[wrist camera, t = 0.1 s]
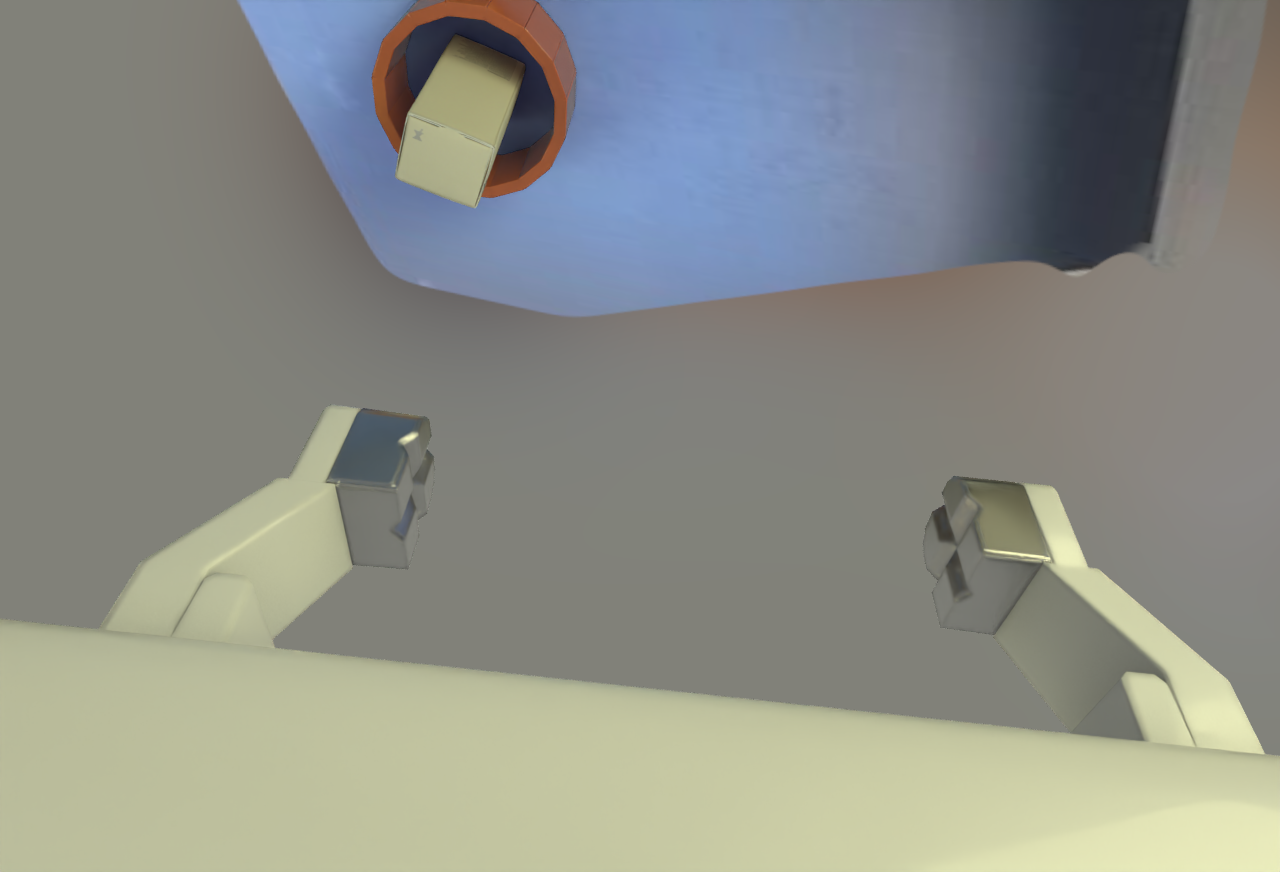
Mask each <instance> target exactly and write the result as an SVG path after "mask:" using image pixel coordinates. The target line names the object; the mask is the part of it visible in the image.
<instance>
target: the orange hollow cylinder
mask: <svg viewBox="0 0 1280 872" xmlns="http://www.w3.org/2000/svg"><path fill="white" fill-rule="evenodd" d="M447 16H453V17H461V18H470V19H478V20H485V21H487V22H489V23H490V24H492V25H494V26H496V27H498V28H499V29H501V30H503V31H505V32H507V33H508V34H510V35H512V36H514V37H516V38H517V39H518V40H519V41H520V42H521V43H522V45H523V46H524V47H525V48H526V49H527V50H528V52H529V53H530V54H531V55H532V56H533V57H534V59H535V60H536V61H537V62H538V63H539V64H540V66H541V67H542V69H543V71H544V74H545V77H546V79H547V82H548V85H549V87H550V90H551V93H552V96H553V98H554V124H553V126H552V129H551V130H550V131H549V132H548V133H546V134H545V135H544V136H543V137H542V138H540V139H539V140H538V141H537V142H536V143H534V144H533V145H532V146H531V147H530V148H526V149H522V150H519V151H515V152H512V153H508V154H504V155H498V154H497V155H496V157H495V161H494V163H493V166H492V169H491V172H490V174H489V177H488V180H487V183H486V186H485V188H484V191H483V193H482V196H481V197H488V198H494V197H498V196H501V195H505V194H509V193H513V192H516V191H520V190H524V189H526V188H527V187H528V186H529V185H531V184H532V183H533V182H534V181H536V180H537V179H538V178H539V177H541V176H542V175H543V174H544V173H546V172H547V171H548V170H549V169H550V168H551V167H552V165H553V163H554V161H555V158H556V156H557V154H558V152H559V150H560V148H561V146H562V144H563V142H564V140H565V138H566V134H567V131H568V128H569V124H570V121H571V118H572V114H573V111H574V107H575V94H576V68H575V65H574V62H573V59H572V57H571V54H570V51H569V48H568V45H567V42H566V39H565V36H564V34H563V32H562V31H561V30H560V29H559V27H558V26H557V25H556V24H555V23H554V21H553V20H552V19H551V18H550V17H549V15H548V14H547V13H546V12H545V10H544V9H543V8H542V7H541V6H540V4H539V3H537V2H536V1H535V0H417V1H416V2H415V3H414V4H413V5H412V6H411V7H410V9H409V10H408V11H407V12H406V13H405V14H404V15H403V16H402V17H401V19H400V20H399V21H398V22H397V23H396V25H395V26H394V27H393V28H392V29H391V30H390V32H389V33H388V34H387V35H386V36H385V38H384V39H383V41H382V43H381V46H380V50H379V53H378V56H377V60H376V63H375V66H374V70H373V73H372V85H373V93H374V102H375V110H376V114H377V117H378V119H379V121H380V123H381V125H382V127H383V129H384V131H385V132H386V134H387V136H388V138H389V140H390V142H391V144H392V146H393V148H394V149H395V151H396V152H397V153H398V154H399V150H400V145H401V140H402V135H403V131H404V127H405V122H406V117H407V114H408V112H409V110H410V108H411V107H412V105H413V103H414V102H415V98H414V96H413V94H412V92H411V90H410V87H409V85H408V75H407V64H406V53H405V52H406V49H407V46H408V43H409V40H410V37H411V34H412V31H413V30H414V29H415V28H416V27H417V26H419V25H422V24H426V23H429V22H432V21H435V20H438V19H441V18H444V17H447Z"/></svg>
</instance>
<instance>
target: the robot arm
mask: <svg viewBox="0 0 1280 872" xmlns="http://www.w3.org/2000/svg"><path fill="white" fill-rule="evenodd" d="M430 438H431V428H430V421H429V419H428V418H427V417H424V416H417V415H409V414H402V413H395V412H387V411H380V410H372V409H365V408H363V409H359V408H351V407H345V406H338V405H329V406H328V407H327V408H325V409H324V410H323V411H322V413H321V415H320V417H319V419H318V421H317V423H316V425H315V427H314V429H313V431H312V433H311V435H310V437H309V438H308V441H307V442H306V444H305V446H304V448H303V450H302V452H301V454H300V456H299V458H298V460H297V462H296V464H295V466H294V468H293V470H292V472H291V474H290V476H289V477H288V479H286V478H277V479H275V480H274V481H272V482H270V483H269V484H267V485H266V486H264V487H262V488H261V489H259V490H257V491H256V492H254V493H252V494H251V495H249V496H248V497H246V498H244V499H243V500H241V501H239V502H238V503H236V504H234V505H233V506H231V507H229V508H228V509H226V510H225V511H223V512H221V513H220V514H218V515H216V516H215V517H213V518H211V519H210V520H208V521H207V522H205V523H203V524H202V525H200V526H199V527H197V528H195V529H193V530H192V531H190V532H189V533H187V534H185V535H184V536H182V537H180V538H179V539H177V540H175V541H174V542H172V543H170V544H169V545H167V546H166V547H164V548H162V549H161V550H159V551H157V552H156V553H154V554H152V555H151V556H149V557H148V558H146V559H144V560H143V561H141V562H140V564H139V565H138V567H137V569H136V570H135V572H134V573H133V575H132V576H131V578H130V580H129V581H128V583H127V585H126V586H125V587H124V589H123V591H122V592H121V594H120V595H119V597H118V599H117V600H116V602H115V603H114V605H113V607H112V608H111V610H110V611H109V613H108V614H107V616H106V618H105V619H104V621H103V622H102V624H101V626H100V627H99V629H92V628H83V627H74V626H64V625H55V624H45V623H36V622H26V621H17V620H8V619H0V872H1280V756H1275V755H1266V754H1265V753H1264V751H1263V749H1262V747H1261V745H1260V743H1259V741H1258V739H1257V737H1256V735H1255V733H1254V731H1253V729H1252V727H1251V725H1250V723H1249V721H1248V719H1247V717H1246V715H1245V713H1244V711H1243V709H1242V707H1241V705H1240V703H1239V701H1238V699H1237V697H1236V695H1235V693H1234V691H1233V688H1232V686H1231V685H1230V682H1229V681H1228V680H1227V679H1226V678H1225V677H1223V676H1222V675H1221V674H1220V673H1219V672H1218V671H1217V670H1215V669H1214V668H1213V667H1212V666H1211V665H1210V664H1208V663H1207V662H1206V661H1205V660H1204V659H1202V658H1201V657H1200V656H1199V655H1198V654H1197V653H1196V652H1194V651H1193V650H1192V649H1191V648H1190V647H1189V646H1187V645H1186V644H1185V643H1184V642H1183V641H1182V640H1180V639H1179V638H1178V637H1177V636H1176V635H1175V634H1173V633H1172V632H1171V631H1170V630H1169V629H1168V628H1166V627H1165V626H1164V625H1163V624H1162V623H1161V622H1159V621H1158V620H1157V619H1156V618H1155V617H1154V616H1152V615H1151V614H1150V613H1149V612H1148V611H1147V610H1145V609H1144V608H1143V607H1142V606H1141V605H1140V604H1138V603H1137V602H1136V601H1135V600H1134V599H1132V598H1131V597H1130V596H1129V595H1128V594H1127V593H1126V592H1124V591H1123V590H1122V589H1121V588H1120V587H1118V586H1117V585H1116V584H1115V583H1114V582H1113V581H1112V580H1110V579H1109V578H1108V577H1107V576H1106V575H1105V574H1103V573H1102V572H1101V571H1100V570H1099V569H1095V568H1088V565H1087V563H1086V561H1085V558H1084V556H1083V553H1082V551H1081V548H1080V546H1079V544H1078V541H1077V539H1076V537H1075V534H1074V532H1073V529H1072V527H1071V525H1070V522H1069V520H1068V517H1067V515H1066V513H1065V510H1064V508H1063V505H1062V503H1061V501H1060V498H1059V496H1058V493H1057V491H1056V490H1055V489H1054V488H1053V487H1051V486H1049V485H1039V484H1028V483H1015V482H1007V481H996V480H988V479H978V478H969V477H959V476H953V477H952V478H951V479H950V480H949V481H948V482H947V484H946V486H945V488H944V490H943V492H942V495H943V499H944V503H945V505H943V506H942V507H940V508H938V509H936V510H935V511H933V512H932V514H931V516H930V518H929V521H928V523H927V525H926V528H925V535H924V541H923V549H924V550H923V551H924V559H925V564H926V568H927V570H928V571H929V572H930V573H931V574H932V575H933V576H934V577H935V578H936V579H937V580H938V582H937V584H936V586H935V588H934V590H933V591H932V595H933V599H934V603H935V607H936V612H937V616H938V620H939V624H940V628H947V629H954V630H962V631H970V632H977V633H984V634H991V635H994V637H993V638H994V639H995V640H996V641H997V643H998V644H999V645H1000V646H1001V647H1002V649H1003V650H1004V651H1005V652H1006V654H1007V655H1008V656H1009V657H1010V659H1011V660H1012V661H1013V662H1014V663H1015V665H1016V666H1017V667H1018V669H1019V670H1020V671H1021V672H1022V674H1023V675H1024V676H1025V677H1026V678H1027V680H1028V681H1029V682H1030V683H1031V685H1032V686H1033V687H1034V688H1035V689H1036V691H1037V692H1038V693H1039V694H1040V696H1041V697H1042V698H1043V699H1044V701H1045V702H1046V703H1047V704H1048V706H1049V707H1050V708H1051V709H1052V711H1053V712H1054V713H1055V714H1056V716H1057V717H1058V718H1059V719H1060V721H1061V722H1062V723H1063V724H1064V725H1065V727H1066V728H1067V729H1068V730H1069V732H1070V733H1062V732H1052V731H1043V730H1034V729H1025V728H1015V727H1006V726H997V725H988V724H978V723H969V722H959V721H950V720H941V719H932V718H923V717H913V716H903V715H893V714H885V713H875V712H865V711H857V710H848V709H838V708H829V707H819V706H810V705H800V704H791V703H782V702H773V701H772V702H771V701H763V700H754V699H745V698H734V697H726V696H716V695H707V694H698V693H689V692H680V691H670V690H661V689H652V688H643V687H632V686H624V685H614V684H605V683H595V682H586V681H577V680H568V679H559V678H549V677H540V676H531V675H522V674H512V673H503V672H494V671H484V670H475V669H466V668H456V667H446V666H438V665H428V664H419V663H410V662H400V661H391V660H382V659H381V660H380V659H372V658H362V657H354V656H344V655H335V654H325V653H317V652H307V651H298V650H288V649H279V648H275V646H274V643H273V641H272V640H273V639H274V638H275V637H276V636H277V635H278V634H279V633H281V632H282V631H283V630H284V629H285V628H286V627H287V626H288V625H290V624H291V623H292V621H294V620H295V619H296V618H297V617H298V616H300V615H301V614H302V613H303V612H304V611H305V610H306V609H307V608H309V607H310V606H311V605H312V604H313V603H314V602H315V601H316V600H318V599H319V598H320V597H321V596H322V595H323V594H324V593H325V592H327V590H329V589H330V588H331V587H332V586H333V585H334V584H335V583H337V582H338V581H339V580H340V579H341V578H342V577H343V576H344V575H346V574H347V573H348V572H349V571H350V570H351V569H352V568H353V565H361V566H373V567H385V568H397V569H408V568H409V565H410V562H411V559H412V556H413V553H414V550H415V547H416V544H417V541H418V538H419V528H418V520H419V519H420V518H422V517H423V516H424V515H426V514H427V511H428V508H429V504H430V501H431V497H432V491H433V486H434V471H435V466H434V456H433V455H432V454H431V453H430V452H429V451H428V450H427V447H428V444H429V441H430Z"/></svg>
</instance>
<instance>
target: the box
mask: <svg viewBox="0 0 1280 872" xmlns="http://www.w3.org/2000/svg"><path fill="white" fill-rule="evenodd" d="M525 68H526V67H525V65H524V64H523V63H522V62H520V61H518V60H516V59H513V58H511V57H509V56H507V55H505V54H502V53H500V52H498V51H496V50H493V49H491V48H489V47H486V46H484V45H482V44H479V43H477V42H474V41H472V40H469V39H467V38H465V37H462V36H459V35H456V34H455V35H454V36H453V37H452V39H451V41H450V42H449V44H448V45H447V47H446V49H445V50H444V52H443V54H442V55H441V57H440V59H439V61H438V62H437V64H436V66H435V68H434V69H433V71H432V73H431V74H430V76H429V78H428V79H427V81H426V83H425V85H424V87H423V88H422V90H421V92H420V93H419V95H418V97H417V98H416V100H415V102H414V103H413V105H412V107H411V108H410V110H409V112H408V114H407V117H406V122H405V127H404V131H403V135H402V140H401V145H400V150H399V155H398V161H397V167H396V173H395V177H396V178H397V179H398V180H400V181H403V182H405V183H408V184H410V185H413V186H415V187H418V188H420V189H423V190H425V191H428V192H431V193H433V194H436V195H438V196H441V197H444V198H446V199H449V200H452V201H454V202H457V203H460V204H463V205H466V206H469V207H472V208H476V207H477V205H478V203H479V201H480V198H481V196H482V193H483V191H484V188H485V186H486V183H487V180H488V177H489V174H490V172H491V169H492V166H493V163H494V161H495V157H496V155H497V152H498V150H499V147H500V144H501V141H502V139H503V136H504V134H505V131H506V128H507V126H508V123H509V120H510V118H511V115H512V112H513V109H514V106H515V103H516V100H517V97H518V94H519V91H520V87H521V84H522V80H523V76H524V72H525Z"/></svg>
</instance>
